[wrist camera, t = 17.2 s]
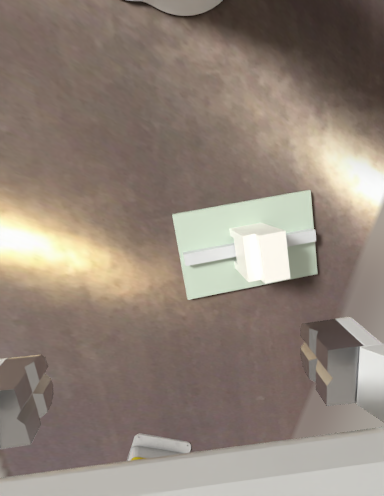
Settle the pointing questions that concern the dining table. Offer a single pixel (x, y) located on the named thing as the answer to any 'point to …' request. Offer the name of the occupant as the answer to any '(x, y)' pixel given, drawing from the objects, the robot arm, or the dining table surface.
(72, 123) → the dining table surface
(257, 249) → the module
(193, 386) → the dining table surface
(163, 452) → the emergency button
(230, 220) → the rail board
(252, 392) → the dining table surface
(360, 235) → the dining table surface
